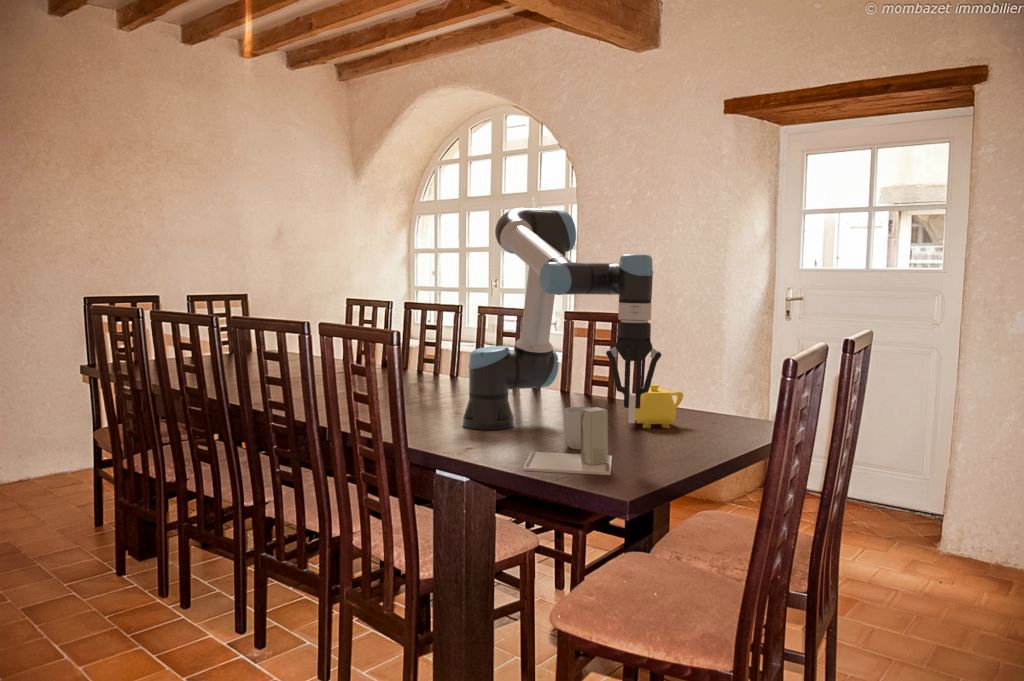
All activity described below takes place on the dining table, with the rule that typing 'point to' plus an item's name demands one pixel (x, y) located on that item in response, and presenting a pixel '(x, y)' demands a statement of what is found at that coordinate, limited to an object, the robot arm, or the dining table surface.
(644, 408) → the teapot
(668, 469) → the dining table surface
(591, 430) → the box
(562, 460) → the white tray
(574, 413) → the mug
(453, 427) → the dining table surface
